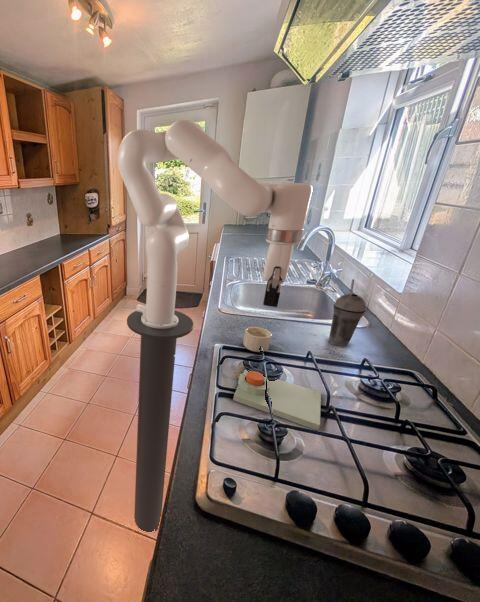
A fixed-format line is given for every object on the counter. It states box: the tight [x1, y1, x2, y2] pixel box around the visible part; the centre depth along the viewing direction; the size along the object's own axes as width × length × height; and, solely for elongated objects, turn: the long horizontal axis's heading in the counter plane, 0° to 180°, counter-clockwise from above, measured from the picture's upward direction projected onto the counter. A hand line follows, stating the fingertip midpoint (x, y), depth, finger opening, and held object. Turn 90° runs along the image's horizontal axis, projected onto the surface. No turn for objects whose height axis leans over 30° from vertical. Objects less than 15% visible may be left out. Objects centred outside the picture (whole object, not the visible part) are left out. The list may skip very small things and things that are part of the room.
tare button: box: [246, 370, 264, 386], centre depth 70 cm, size 4×4×2 cm
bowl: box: [242, 326, 273, 353], centre depth 88 cm, size 7×7×5 cm
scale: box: [232, 369, 322, 431], centre depth 68 cm, size 16×12×3 cm
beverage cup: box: [328, 278, 367, 348], centre depth 87 cm, size 7×7×20 cm
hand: (270, 299), depth 81 cm, fingers open, 9 cm apart
